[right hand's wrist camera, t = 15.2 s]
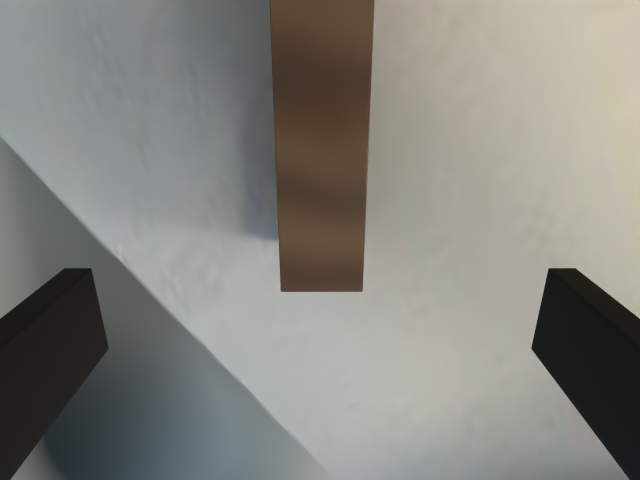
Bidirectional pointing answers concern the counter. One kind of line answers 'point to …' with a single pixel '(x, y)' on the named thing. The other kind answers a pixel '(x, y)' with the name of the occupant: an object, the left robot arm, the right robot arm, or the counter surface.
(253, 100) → the counter surface
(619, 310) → the right robot arm
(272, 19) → the beam
